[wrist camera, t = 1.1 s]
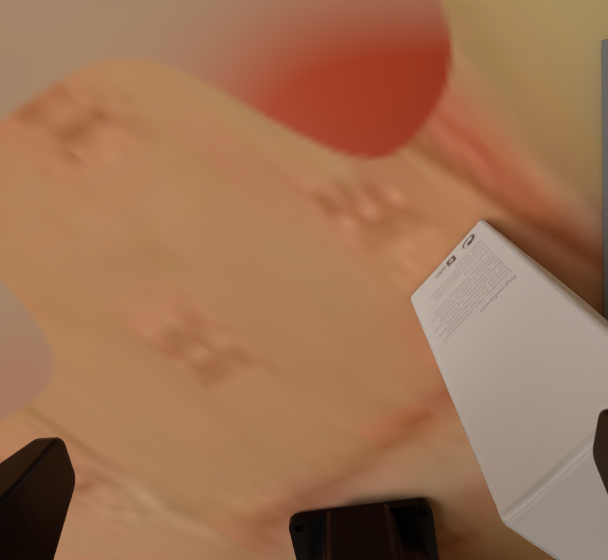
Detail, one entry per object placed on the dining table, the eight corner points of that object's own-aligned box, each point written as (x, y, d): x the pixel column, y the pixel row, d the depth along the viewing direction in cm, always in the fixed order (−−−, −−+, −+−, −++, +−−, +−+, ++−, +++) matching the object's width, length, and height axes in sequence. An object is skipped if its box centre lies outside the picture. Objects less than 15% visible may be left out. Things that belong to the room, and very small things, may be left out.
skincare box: (405, 298, 22) (491, 522, 11) (480, 215, 21) (665, 369, 10) (516, 382, 23) (699, 665, 12) (593, 307, 22) (880, 543, 11)
